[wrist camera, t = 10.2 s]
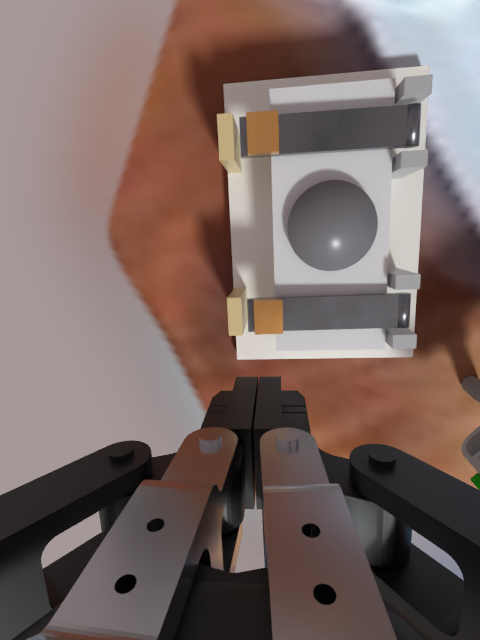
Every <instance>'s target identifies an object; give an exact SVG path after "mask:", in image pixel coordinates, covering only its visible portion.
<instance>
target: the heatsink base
mask: <svg viewBox="0 0 480 640" xmlns="http://www.w3.org/2000/svg"><path fill="white" fill-rule="evenodd" d="M429 72H430V65H428V66H417V67H406V68H394V69H383V70H372V71H361V72H350V73H339V74H328V75H317V76H306V77H295V78H284V79H272V80H261V81H250V82H239V83H228V84H223V89H224V109H225V113H224V114H217V125H218V144H219V161H220V162H221V163H222V165H223V166H224V167H225V169H226V170H227V171H228V188H229V207H230V227H231V247H232V266H233V286H234V290H233V291H232V292H231V293H230V295H229V296H228V297H227V307H228V326H229V336H236V345H237V359H307V358H378V357H413V348H416V344H417V334H415V333H414V330H415V313H416V296H417V289H420V277H421V274H418V261H419V244H420V227H421V210H422V192H423V175H424V168H425V167H427V160H428V150H425V141H426V123H427V106H428V96H429V95H430V94H431V93H432V76H433V74H431V75H429ZM412 103H421V122H420V140H419V146H417V147H414V148H395V149H379V150H364V151H349V152H333V153H318V154H303V155H287V156H272V157H257V158H241V148H240V125H239V117H246V112H259V111H273V110H278V114H287V113H300V112H314V111H327V110H341V109H354V108H368V107H381V106H394V105H408V104H412ZM399 292H406V293H411V305H410V323H409V328H371V329H336V330H300V331H283V334H258V335H255V332H248V311H247V298H269V297H297V296H326V295H354V294H383V293H399Z"/></svg>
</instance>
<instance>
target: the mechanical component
mask: <svg viewBox="0 0 480 640" xmlns="http://www.w3.org/2000/svg"><path fill="white" fill-rule="evenodd" d="M462 387H463V389H464V390H465V391H466V392H467V393H468V394H469V395H470V396H471V397H473V398H474V399H475V400H477V401H478V402H480V380H479V379H478V378H476V377H473V376H468V377H466V378H465V379H464V380H463V381H462ZM462 453H463V455H464V456H465V458H466V459H467V460H468V461H469V462H470V463H471V465H472V466H473V467H474V468H475V469H476V470H477V471H478V472H479V473H480V426H479V427H478V428H477V429H476V430H474V431H473V432H472V433H471V434H470V435H469V436H468V437H467V438H466V439H465V440H464V442H463V445H462ZM479 473H477V474H476V475H474V476H473V477H472V478H471V481H472V482H473V483H474V484H475V486H476V487H477V488H478V489H479V490H480V474H479Z"/></svg>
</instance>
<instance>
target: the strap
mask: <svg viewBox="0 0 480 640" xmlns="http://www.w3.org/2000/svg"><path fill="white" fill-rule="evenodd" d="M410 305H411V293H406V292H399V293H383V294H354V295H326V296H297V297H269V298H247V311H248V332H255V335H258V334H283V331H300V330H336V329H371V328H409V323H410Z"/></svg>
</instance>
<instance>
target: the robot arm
mask: <svg viewBox="0 0 480 640" xmlns="http://www.w3.org/2000/svg"><path fill="white" fill-rule="evenodd" d="M255 492H256V503H257V509H262V516H263V541H264V559H265V560H264V561H265V568H261V569H257V570H251V571H246V572H240V573H235V568H236V563H237V558H238V553H239V548H240V543H241V538H242V521H243V518H244V511H245V509H254V505H255ZM98 511H99V516H100V521H101V529H102V532H101V533H100V534H98V535H96V536H95V537H93V538H92V539H90V540H88V541H87V542H85V543H84V544H82V545H80V546H79V547H77V548H76V549H74V550H73V551H71V552H69V553H68V554H66V555H65V556H63V557H61V558H60V559H58V560H56V561H55V562H53V563H52V564H50V565H49V566H47V567H45V568H43V569H42V564H41V556H42V552H43V550H44V548H45V546H46V545H47V544H48V543H49V542H50V541H51V539H53V538H54V537H55V536H57V535H58V534H60V533H62V532H64V531H65V530H67V529H69V528H70V527H72V526H74V525H76V524H77V523H79V522H81V521H82V520H84V519H86V518H88V517H89V516H91V515H93V514H95V513H96V512H98ZM412 529H413V530H414V531H416V532H417V533H419V534H420V535H422V536H423V537H425V538H426V539H428V540H429V541H431V542H432V543H433V544H435V545H436V546H438V547H439V548H441V549H442V550H444V551H445V552H446V553H448V554H449V555H450V556H451V557H452V558H453V559H454V560H455V562H456V563H457V564H458V566H459V568H460V569H461V572H462V574H463V578H464V581H463V580H462V579H461V578H459V577H458V576H457V575H455V574H454V573H452V572H451V571H450V570H448V569H447V568H445V567H444V566H443V565H441V564H440V563H438V562H437V561H436V560H434V559H433V558H431V557H430V556H429V555H427V554H426V553H424V552H423V551H421V550H420V549H419V548H417V547H416V546H415V545H413V544H412V543H411V537H412ZM0 640H480V490H478V489H476V488H474V487H472V486H470V485H468V484H466V483H464V482H462V481H460V480H458V479H456V478H454V477H452V476H450V475H448V474H446V473H444V472H443V471H441V470H439V469H437V468H435V467H433V466H431V465H429V464H427V463H425V462H423V461H421V460H419V459H417V458H415V457H413V456H411V455H409V454H407V453H405V452H403V451H401V450H399V449H397V448H394V447H391V446H387V445H381V444H366V445H361V446H359V447H357V448H355V449H354V450H353V451H352V452H351V453H350V459H346V458H342V457H337V456H333V455H331V454H328V453H326V452H324V451H322V450H320V449H319V448H318V447H317V443H316V441H315V439H314V437H313V436H312V435H311V432H310V426H309V420H308V415H307V409H306V403H305V398H304V397H303V396H302V395H301V394H300V393H299V392H298V391H281V377H259V384H258V377H236V381H235V384H234V388H233V391H220V392H219V393H218V394H216V395H215V396H214V397H213V398H212V400H211V403H210V405H209V408H208V410H207V413H206V416H205V418H204V421H203V423H202V426H201V429H199V430H196V431H194V432H192V433H190V434H189V435H188V436H187V437H186V438H185V439H184V441H183V443H182V444H181V446H180V448H179V449H178V452H176V453H173V454H168V455H163V456H158V457H152V455H151V449H150V447H149V446H148V445H147V444H145V443H143V442H140V441H123V442H118V443H115V444H112V445H109V446H107V447H105V448H103V449H100V450H98V451H96V452H94V453H92V454H89V455H87V456H85V457H83V458H81V459H79V460H76V461H74V462H72V463H70V464H68V465H66V466H63V467H61V468H59V469H57V470H55V471H53V472H50V473H48V474H46V475H44V476H42V477H39V478H37V479H35V480H33V481H31V482H29V483H26V484H24V485H22V486H20V487H18V488H16V489H14V490H11V491H9V492H7V493H5V494H3V495H0Z"/></svg>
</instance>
